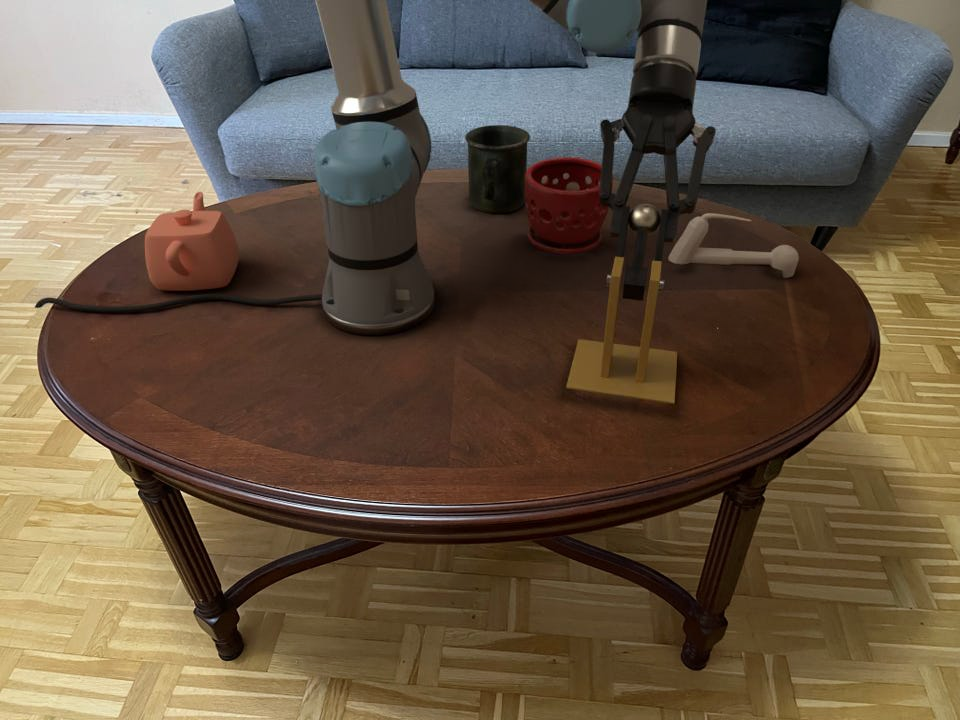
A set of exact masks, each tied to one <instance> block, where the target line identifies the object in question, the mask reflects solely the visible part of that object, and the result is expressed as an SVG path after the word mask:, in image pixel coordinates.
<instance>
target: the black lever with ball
mask: <svg viewBox="0 0 960 720" xmlns="http://www.w3.org/2000/svg"><path fill="white" fill-rule="evenodd" d="M660 218H661V213H660V212H659V210H658V209H657V207H655V206H654V205H652V204H650V203H640V204H638V205H636V206H635V207H633V208H632V209H631V210H630V215H629V223H628V227H629V228H630V230H631V231H632V232H633V233H634V234H636V240H635V244H634V245H635V246H634V252H633V259H632V265H630V264H627V265H626V268H625V275H624V281H623V288H622V289H623V290H622V297H621V298H622V299H623V300H633V301H639V302H640V301H641V302H643V301H644V298H645V297H644V296H645V289H646V282H647V275H648V268H649V267H647V266H644V261H645V260H644V259H645V252H646V245H647V239H648V236H649V235H652V234H653V233H655V232H656V231H657V230H658V229H659V226H660Z"/></svg>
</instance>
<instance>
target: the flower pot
mask: <svg viewBox="0 0 960 720" xmlns="http://www.w3.org/2000/svg"><path fill="white" fill-rule="evenodd" d="M601 169H602V163H599V162H597V161H594V160H590V159H586V158H580V157H571V156H569V157H568V156H567V157H553V158H546V159H542V160H540V161H538V162H535V163H533V164H532V165H530V166H529V167H527V171H526V174H525V203H524V204H525V210H526V211H525V212H526V216H527V219H528V222H529V224H530V226H529V227H528V230H527V237H528V240H529V242H530V243H531V244H532V245H533V246H535V247H536V248H538V249H541V250H542V251H546V252H550V253H553V254H554V253H555V254H564V255H565V254H568V255H570V254H571V255H572V254H581V253H585V252H588V251H591V250H593V249H595V248H596V247H598V246H599V245H600V243H601V242H602V237H603V233H602V230H601V229H602V226H603V225H604V223H605V221H606V218H607V215H608V213H609V210H610V208H609V207H607V206H602V205H601V204H600V196H599V192H600V184H599V182H600V180H601ZM565 174H568V177H567V178H565V177H564V175H565ZM545 176H546V181H545V182H543V181H542V180H543V178H544V177H545ZM587 177H589V178H590V180H591V181H590V183H588V182H587V180H586V178H587ZM556 179H557V182H556V183H554V181H555V180H556ZM570 183H576V184H577V185H578V187H579V190H567V186H568V184H570ZM613 184H614V175H613V174H612V185H611V193H613V187H614V185H613ZM537 237H538V238H537ZM538 239H539V240H541V241H542V242H543V243H541V242H539V241H538Z"/></svg>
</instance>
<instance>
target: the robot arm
mask: <svg viewBox="0 0 960 720" xmlns="http://www.w3.org/2000/svg"><path fill="white" fill-rule="evenodd" d="M527 1H528V3H530V4H532V5H533V6H535V7H536V8H537V9H539V10H540V11H542V13H544V14H545V15H546V16H548V17H549V18H550V19H552V20H553V21H554V22H556V23H557V24H558V25H560V26H561V27H563V28H564V29H566V30H567V32H568V33H569V35H570V36H571V37H572V39H573V41H575V43H577V44H578V45H579V46H580V47H581V48H583V49H584V50H586V51H588V52H591V53H595V54H608V53H612V52H615V51H617V50H619V49H621V48H623V47H624V46H626V44H627V43H629V42H630V40H632V38H633V37H634V36H635V34H636V32H638V33H637V34H638V35H637V41H636V48H635V54H634V62H633V68H632V75H633V76H632V77H631V83H630V89H629V97H628V104H627V107H626V110H625V111H624V112H623V114H622V116H621V118H619V119H616V120H613V121H610V120H609V119H603V120H601V121H600V124H599V126H600V137H601V141H602V144H603V147H602V148H603V149H602V158H601V164H602V169H601V180H600V181H599V186H600V192H599V196H600V204H601V205H602V206H607V207H609V209H610V210H612V212H611V213H612V214H611V220H610V227H609V234H610V237H611V238H618V241H617V247H616V254H615V255H616V256H615V257H624V258H625V250H626V244H627V236H628V230H629V215H630V213H631V206H630V205H627V203H628V200H629V197H630V194H631V192H632V189H633V185H634V183H635V180H636V177H637V174H638V171H639V168H640V165H641V163H642V161H643V159H644V155H649V154H657V155H660V156H663V165H664V180H665V181H664V182H665V195H666V209H664V208H662V209H661V211H660V212H661V213H660V224H659V227H658V234H657V240H656V241H657V242H656V248H655V256H654V261H661V262H662V263H663V256H664V249H665V243H670V244H673V243H674V241H675V239H676V236H677V230H678V229H677V228H678V220H679V217H680V216H683V215H685V214H688V215H690V214H693V213H694V212H695V210H696V206H697V202H698V198H699V193H700V187H701V182H702V177H703V171H704V166H705V161H706V156H707V153H708V151H709V150H710V148H711V147H712V144H713V143H714V139H715V136H716V133H717V129H716V128H715V126H712V125H709V126H707V127H704V126H702V125H700V124H698V123H696V122H697V121H696V117H695V116H694V112H693V110H694V103H695V94H696V88H697V87H696V86H697V76H698V71H699V65H700V59H701V58H700V57H701V49H702V38H703V31H704V24H705V19H706V18H705V17H706V13H707V6H708V5H707V4H708V0H527ZM315 4H316V8H317V12H318V16H319V20H320V24H321V29H322V33H323V36H324V39H325V40H324V41H325V44H326V49H327V52H328V56H329V60H330V64H331V67H332V73H333V75H334V79H335V83H336V87H337V88H336V89H337V95H336V97H335V99H334V101H333V102H332V104H331V105H330V110H331V114H332V117H333V122H334V125H335V128H336V129H331V130H330V131H328V132H327V133H326V134H325V135H323V136H322V137H321V138H320V139H319V141H318V143H317V145H316V147H315V150H314V175H315V181H316V184H317V188H318V193H319V200H320V201H319V202H320V207H321V213H322V219H323V227H324V234H325V240H326V245H327V252H328V264H327V268H326V274H325V278H324V284H323V289H322V292H321V293H318V294H308V295H307V294H306V295H296V296H295V295H294V296H287V297H281V298H269V299H266V298H265V299H264V298H261V299H260V298H251V297H250V298H249V297H245V296H239V295H232V294H225V293H205V294H204V293H203V294H195V295H189V296H183V297H178V298H174V299H169V300H165V301H161V302H155V303H149V304H140V305H126V306H125V305H124V306H123V305H120V306H117V305H115V306H114V305H113V306H112V305H111V306H110V305H92V304H79V303H72V302H69V301H66V300H62V299H60V298H57V297H50V296H49V297H43V298H41V299H39V300H38V301H37V302H36V303H35V305H34V308H35V309H40V308H42V307H43V306H45V305H46V304H53V305H56V306H60V307H63V308H66V309H70V310H74V311H83V312H99V313H135V312H136V313H137V312H147V311H155V310H160V309H164V308H170V307H173V306H178V305H181V304H188V303H192V302H198V301H210V300H211V301H212V300H217V301H219V300H221V301H231V302H236V303H241V304H247V305H254V306H277V305H283V304H284V305H285V304H291V303H292V304H293V303H303V302H312V301H313V302H314V301H321V305H322V311H323V315H324V318H325V319H326V321H327V322H328V323H329V324H331V325H332V326H333V327H335V328H337V329H339V330H341V331H344V332H347V333H350V334H354V335H355V334H356V335H363V336H379V335H380V336H381V335H382V336H383V335H388V334H394V333H399V332H403V331H405V330H408V329H410V328H413V327H415V326H416V325H419V324H421V323H422V322H423V321H424V320H426V319H427V318H428V317H429V316H430V315H431V314H432V312H433V310H434V309H435V305H436V303H435V302H436V301H435V288H434V286H433V283H432V280H431V278H430V276H429V273H428V271H427V269H426V266H425V264H424V262H423V260H422V257H421V255H420V253H419V248H418V232H417V231H418V230H417V218H416V197H417V195H418V191H419V189H420V185H421V182H422V180H423V177H424V174H425V172H426V171H427V168H428V166H429V163H430V160H431V154H432V138H431V133H430V128H429V126H428V124H427V122H426V119H425V118H424V116H423V115H422V114H421V112H420V111H421V110H420V105H419V101H418V95H417V91H416V89H415V88H414V87H412V86H411V85H410V84H408V83H406V82H405V81H404V80H403V78H402V73H401V68H400V64H399V59H398V53H397V48H396V44H395V39H394V34H393V33H394V32H393V29H392V23H391V19H390V13H389V8H388V4H387V0H315ZM622 131H624V133H625V135H626V137H627V138H628V140H629V141H630V143H631V144H632V145H631V150H630V153H629V156H628V159H627V161H626V164H625V166H624V167H625V168H624V170H623V173H622V176H621V179H620V182H619V184H618V188H617V190H616V193H613V192H612V193H611V185H612V175H613V174H614V173H613V171H614V161H615V142H616V141H618V140H620V134H621V132H622ZM690 135H691V136H692V144H693V146H694V147H695V151H694V155H693V161H692V166H691V170H690V175H689V180H688V186H687V191H686V196H685V198H683V199H680V185H679V173H678V157H677V151H678V150H677V149H678V148H679V147H680V145H682V144H683V142H684V141H685V140H687V139H688V137H689V136H690Z"/></svg>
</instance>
